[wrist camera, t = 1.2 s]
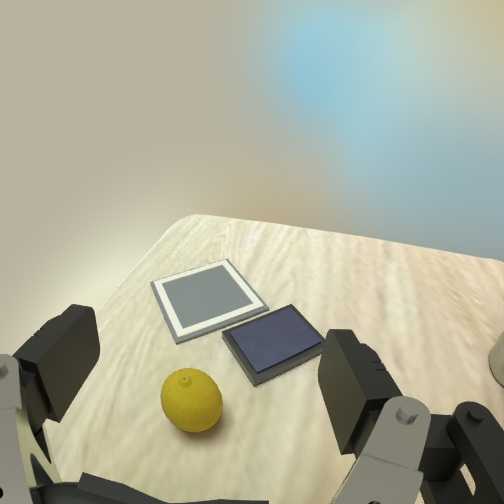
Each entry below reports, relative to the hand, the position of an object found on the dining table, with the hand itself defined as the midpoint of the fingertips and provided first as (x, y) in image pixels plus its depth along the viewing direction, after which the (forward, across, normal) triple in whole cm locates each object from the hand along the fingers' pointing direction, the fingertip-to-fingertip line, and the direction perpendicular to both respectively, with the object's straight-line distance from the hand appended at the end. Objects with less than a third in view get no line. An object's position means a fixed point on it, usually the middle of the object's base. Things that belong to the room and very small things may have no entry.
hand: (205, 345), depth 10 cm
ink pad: (+22, -6, +14) cm, 27 cm away
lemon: (+13, +2, +18) cm, 23 cm away
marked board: (+31, +3, +13) cm, 33 cm away
